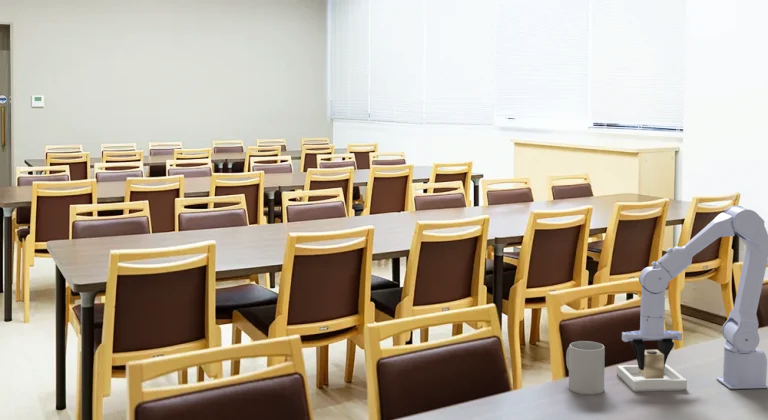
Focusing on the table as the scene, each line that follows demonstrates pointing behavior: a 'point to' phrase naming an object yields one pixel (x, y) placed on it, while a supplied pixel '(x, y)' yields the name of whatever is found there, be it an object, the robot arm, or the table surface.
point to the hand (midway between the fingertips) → (651, 368)
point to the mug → (586, 367)
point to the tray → (639, 383)
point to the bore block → (653, 365)
